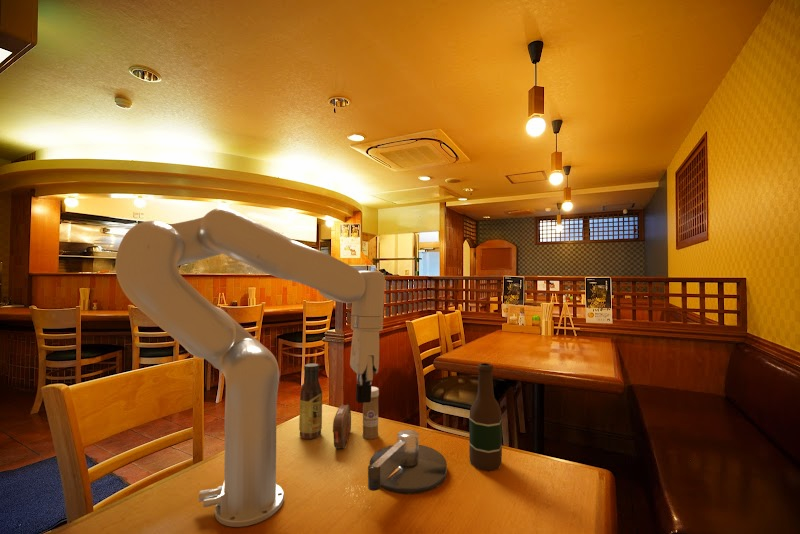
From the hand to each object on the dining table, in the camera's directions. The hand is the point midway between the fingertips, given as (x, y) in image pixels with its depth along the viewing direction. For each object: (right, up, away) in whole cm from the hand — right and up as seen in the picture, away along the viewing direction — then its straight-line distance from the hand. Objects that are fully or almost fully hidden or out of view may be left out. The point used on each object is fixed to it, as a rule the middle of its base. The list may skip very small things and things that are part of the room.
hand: (363, 401), depth 84 cm
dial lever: (+7, -14, -6) cm, 17 cm away
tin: (-7, -17, +15) cm, 24 cm away
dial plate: (+11, -16, 0) cm, 19 cm away
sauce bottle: (-17, -17, +18) cm, 30 cm away
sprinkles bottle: (0, -17, +18) cm, 24 cm away
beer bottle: (+29, -17, +3) cm, 34 cm away
